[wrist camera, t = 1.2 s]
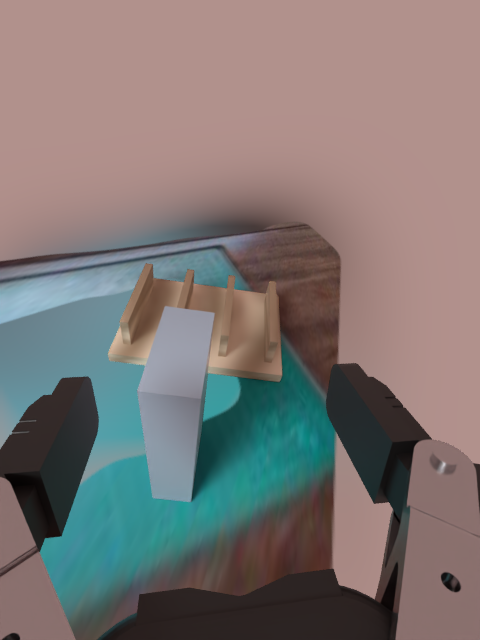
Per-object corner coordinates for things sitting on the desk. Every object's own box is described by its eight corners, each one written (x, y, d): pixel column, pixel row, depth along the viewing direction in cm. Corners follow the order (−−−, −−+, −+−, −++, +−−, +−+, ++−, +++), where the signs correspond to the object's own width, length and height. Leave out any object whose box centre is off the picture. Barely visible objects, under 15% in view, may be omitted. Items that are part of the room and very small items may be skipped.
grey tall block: (152, 498, 26) (137, 391, 16) (168, 427, 30) (164, 306, 20) (191, 502, 26) (200, 398, 16) (201, 430, 30) (214, 312, 20)
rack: (109, 360, 35) (102, 331, 31) (142, 283, 44) (140, 255, 41) (279, 382, 36) (289, 355, 32) (276, 302, 45) (284, 275, 42)
